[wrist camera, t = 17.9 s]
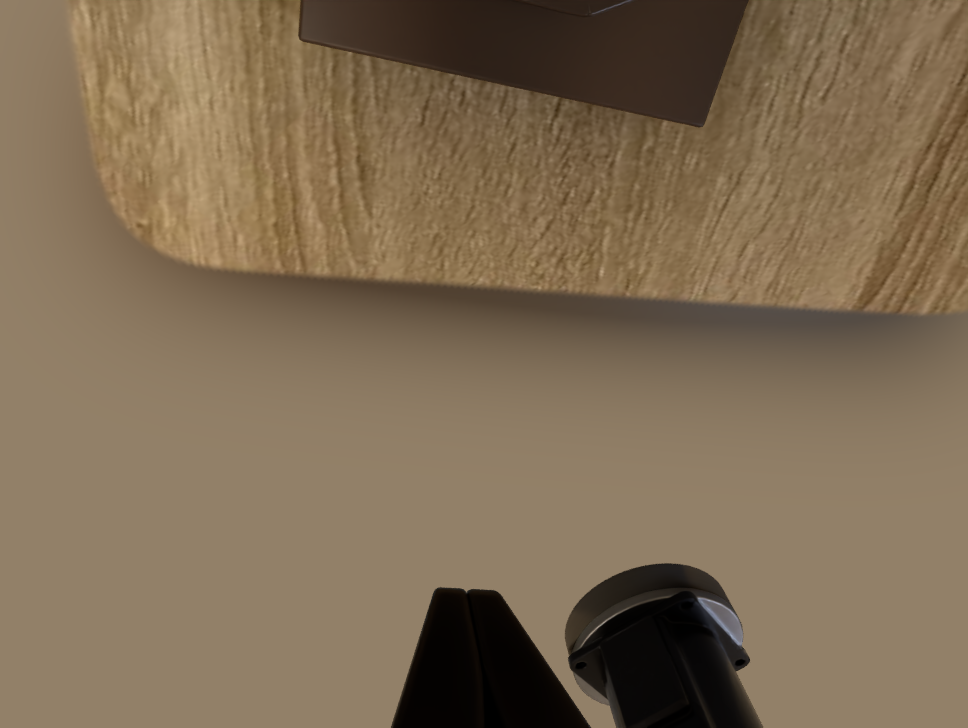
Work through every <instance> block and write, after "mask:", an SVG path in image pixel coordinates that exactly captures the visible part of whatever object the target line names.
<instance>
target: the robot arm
mask: <svg viewBox="0 0 968 728" xmlns="http://www.w3.org/2000/svg"><path fill="white" fill-rule="evenodd" d="M568 661H569V665H570V669H571V670H572V671H573V672H574V673H575V674H577V675H578V676H579V677H580V678H582V679H583V680H584V681H585V682H586V683H588V684H589V685H590V686H591V687H593V688H594V689H595V690H596V691H597V692H599V693H600V694H601V695H602V696H604V697H605V698H606V699H607V700H608V701H609V705H610V708H611V711H612V714H613V718H614V722H615V725H616V728H763V726H762V724H761V722H760V720H759V718H758V715H757V714H756V712H755V709H754V708H753V705H752V703H751V701H750V699H749V697H748V695H747V693H746V691H745V689H744V687H743V685H742V683H741V681H740V679H739V677H738V675H737V673H736V671H738V670H740V669H742V668H744V667H745V666H747V664H748V663H749V662H750V659H749V656H748V655H747V653H746V651H745V649H744V648H743V647H742V646H741V645H740V644H739V643H738V642H737V641H736V639H735V638H734V637H733V636H732V635H731V634H730V633H729V632H728V631H727V630H726V629H725V627H724V626H723V625H722V624H721V623H720V622H719V621H718V620H717V619H716V618H715V616H714V615H713V614H712V613H711V612H710V611H709V610H708V609H707V608H706V607H705V606H704V604H703V603H702V602H701V601H700V600H699V599H698V598H697V597H696V596H695V595H694V593H692V592H691V591H681V592H679V593H677V594H675V595H673V596H672V597H670V598H668V599H666V600H665V601H663V602H661V603H659V604H658V605H656V606H654V607H652V608H651V609H649V610H647V611H645V612H643V613H642V614H640V615H638V616H636V617H635V618H633V619H631V620H629V621H628V622H626V623H624V624H622V625H621V626H619V627H617V628H615V629H614V630H612V631H610V632H608V633H607V634H605V635H603V636H601V637H600V638H598V639H596V640H594V641H593V642H591V643H589V644H587V645H586V646H584V647H582V648H580V649H578V650H577V651H575V652H573V653H572V654H571V655H570V656H569V657H568ZM391 728H591V727H590V725H589V724H588V723H587V721H586V720H585V718H584V717H583V715H582V714H581V712H580V711H579V709H578V708H577V706H576V705H575V703H574V702H573V700H572V699H571V697H570V696H569V694H568V693H567V692H566V690H565V689H564V687H563V686H562V684H561V683H560V681H559V680H558V678H557V677H556V675H555V674H554V673H553V671H552V669H551V668H550V666H549V665H548V664H547V662H546V661H545V659H544V658H543V656H542V655H541V653H540V652H539V650H538V649H537V647H536V646H535V644H534V643H533V642H532V640H531V639H530V637H529V635H528V634H527V632H526V631H525V630H524V628H523V627H522V625H521V624H520V622H519V621H518V619H517V618H516V616H515V615H514V613H513V612H512V610H511V609H510V607H509V606H508V604H507V603H506V601H505V600H504V599H503V597H502V596H501V594H499V593H498V592H497V591H494V590H480V589H471V590H468V591H467V593H466V591H465V590H463V589H460V588H441V587H440V588H437V589H436V590H435V591H434V593H433V596H432V599H431V603H430V605H429V609H428V612H427V615H426V618H425V621H424V625H423V628H422V631H421V634H420V637H419V640H418V643H417V647H416V650H415V653H414V656H413V659H412V663H411V666H410V669H409V672H408V675H407V678H406V682H405V684H404V688H403V691H402V694H401V697H400V701H399V703H398V707H397V710H396V713H395V716H394V719H393V722H392V726H391Z"/></svg>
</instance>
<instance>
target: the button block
mask: <svg viewBox="0 0 968 728" xmlns="http://www.w3.org/2000/svg"><path fill="white" fill-rule="evenodd" d="M747 3H748V0H301V5H300V19H299V34H298V36H299V39H300V40H301V41H303V42H307V43H312V44H317V45H321V46H326V47H330V48H335V49H340V50H344V51H349V52H354V53H358V54H363V55H367V56H372V57H377V58H381V59H386V60H390V61H395V62H400V63H404V64H409V65H413V66H418V67H423V68H427V69H432V70H437V71H441V72H446V73H450V74H455V75H460V76H464V77H469V78H473V79H478V80H483V81H487V82H492V83H497V84H501V85H506V86H510V87H515V88H520V89H524V90H529V91H533V92H538V93H543V94H547V95H552V96H556V97H561V98H566V99H570V100H575V101H580V102H584V103H589V104H593V105H598V106H603V107H607V108H612V109H616V110H621V111H626V112H630V113H635V114H640V115H644V116H649V117H653V118H658V119H663V120H667V121H672V122H676V123H681V124H686V125H690V126H695V127H703V125H704V124H705V121H706V118H707V115H708V112H709V110H710V107H711V104H712V101H713V98H714V95H715V93H716V90H717V87H718V84H719V81H720V79H721V76H722V73H723V70H724V67H725V65H726V62H727V59H728V56H729V53H730V50H731V48H732V45H733V42H734V39H735V36H736V34H737V31H738V28H739V25H740V22H741V20H742V17H743V14H744V11H745V8H746V6H747Z"/></svg>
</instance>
